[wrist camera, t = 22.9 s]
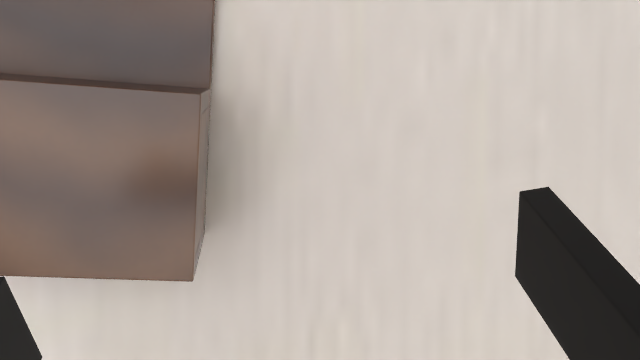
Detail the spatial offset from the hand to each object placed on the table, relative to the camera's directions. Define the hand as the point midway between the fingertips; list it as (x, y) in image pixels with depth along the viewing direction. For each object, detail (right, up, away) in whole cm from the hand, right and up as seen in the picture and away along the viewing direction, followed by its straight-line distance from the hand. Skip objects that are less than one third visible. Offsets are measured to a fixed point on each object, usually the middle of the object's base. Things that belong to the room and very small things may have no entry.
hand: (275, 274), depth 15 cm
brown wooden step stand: (-12, +11, +19) cm, 25 cm away
